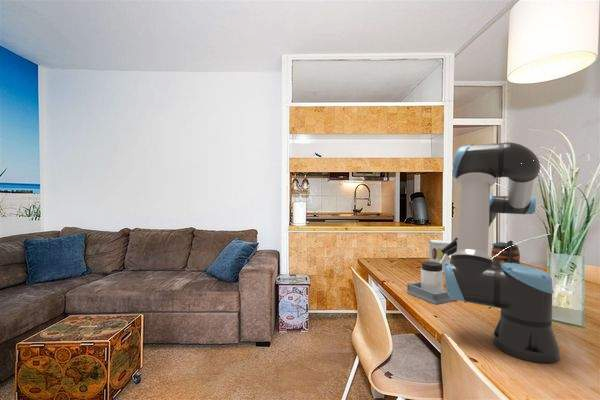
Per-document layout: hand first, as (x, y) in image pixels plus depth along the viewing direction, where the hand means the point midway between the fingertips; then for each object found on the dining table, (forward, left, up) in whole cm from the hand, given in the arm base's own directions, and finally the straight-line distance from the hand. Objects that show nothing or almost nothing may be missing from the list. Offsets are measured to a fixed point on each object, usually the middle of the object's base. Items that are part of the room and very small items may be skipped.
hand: (453, 269), depth 135 cm
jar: (+2, +11, -9) cm, 14 cm away
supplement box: (+30, -26, -10) cm, 41 cm away
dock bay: (0, +12, -10) cm, 16 cm away
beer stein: (+7, -50, -10) cm, 51 cm away
